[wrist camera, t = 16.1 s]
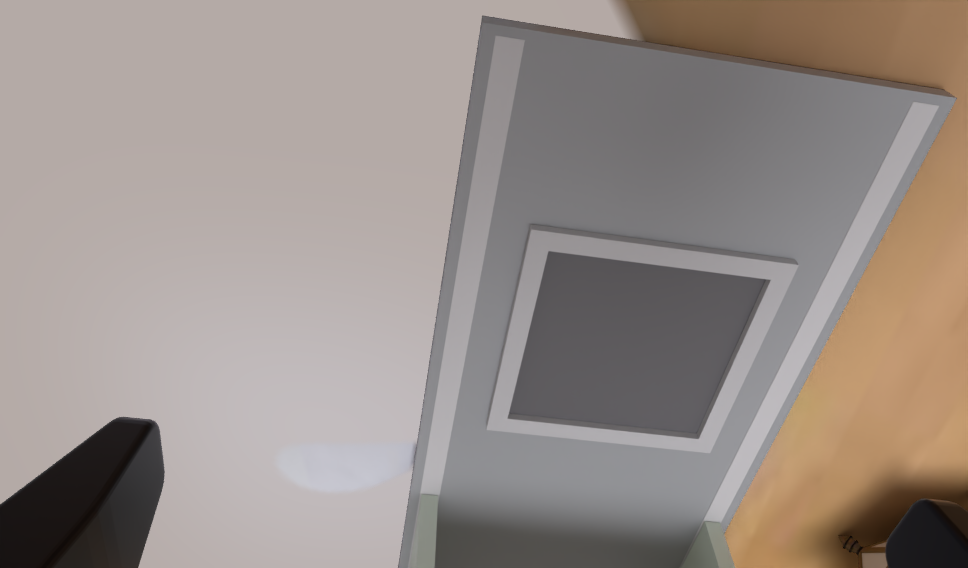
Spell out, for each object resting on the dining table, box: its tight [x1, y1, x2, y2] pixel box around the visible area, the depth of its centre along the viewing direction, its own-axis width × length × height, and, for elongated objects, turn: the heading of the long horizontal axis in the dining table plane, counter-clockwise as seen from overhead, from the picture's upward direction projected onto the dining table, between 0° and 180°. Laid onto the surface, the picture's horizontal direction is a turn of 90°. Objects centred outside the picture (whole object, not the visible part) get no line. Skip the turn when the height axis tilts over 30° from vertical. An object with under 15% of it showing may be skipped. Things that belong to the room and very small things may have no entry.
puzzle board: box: [398, 16, 957, 568], centre depth 25 cm, size 12×24×1 cm, turn 171°
